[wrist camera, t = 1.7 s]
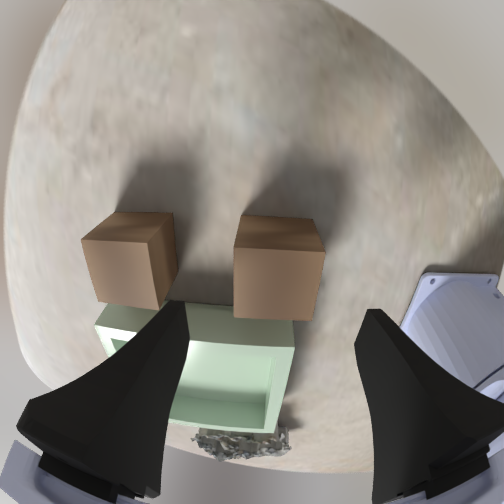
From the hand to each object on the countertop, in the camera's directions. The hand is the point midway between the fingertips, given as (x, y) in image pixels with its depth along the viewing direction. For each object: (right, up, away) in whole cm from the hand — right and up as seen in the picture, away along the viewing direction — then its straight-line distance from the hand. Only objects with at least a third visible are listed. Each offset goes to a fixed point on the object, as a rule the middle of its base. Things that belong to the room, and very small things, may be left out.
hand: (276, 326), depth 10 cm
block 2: (0, +3, +6) cm, 7 cm away
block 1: (-8, +4, +6) cm, 10 cm away
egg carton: (-2, -19, +18) cm, 26 cm away
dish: (-5, -6, +11) cm, 14 cm away
